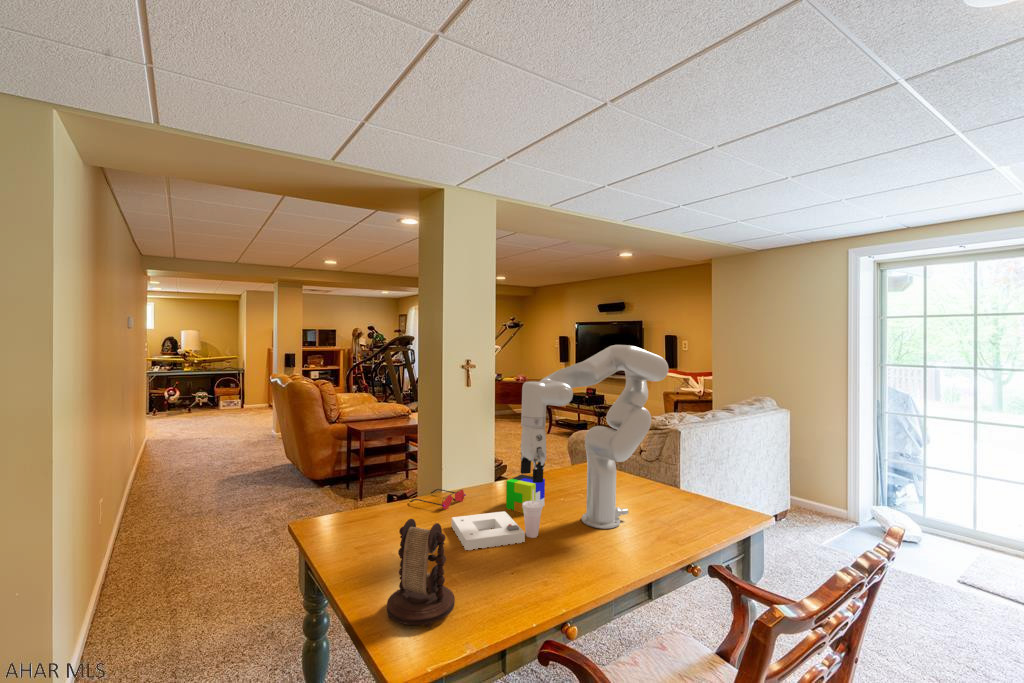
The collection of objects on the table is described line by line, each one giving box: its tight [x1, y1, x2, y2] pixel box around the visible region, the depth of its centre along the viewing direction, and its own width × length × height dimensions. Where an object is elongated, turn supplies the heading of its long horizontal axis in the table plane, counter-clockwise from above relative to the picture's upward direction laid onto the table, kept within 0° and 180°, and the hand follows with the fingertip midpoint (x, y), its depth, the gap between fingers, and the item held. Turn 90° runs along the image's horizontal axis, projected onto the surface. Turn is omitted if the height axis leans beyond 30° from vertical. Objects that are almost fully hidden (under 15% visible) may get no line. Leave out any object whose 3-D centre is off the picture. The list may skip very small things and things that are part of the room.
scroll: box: [386, 518, 456, 629], centre depth 106 cm, size 15×15×20 cm
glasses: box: [409, 488, 467, 510], centre depth 176 cm, size 14×16×5 cm
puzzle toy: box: [505, 473, 546, 514], centre depth 172 cm, size 10×10×10 cm
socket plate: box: [451, 510, 526, 551], centre depth 148 cm, size 18×18×4 cm
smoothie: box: [522, 489, 544, 539], centre depth 148 cm, size 6×6×14 cm
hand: (531, 477), depth 148 cm, fingers open, 9 cm apart
